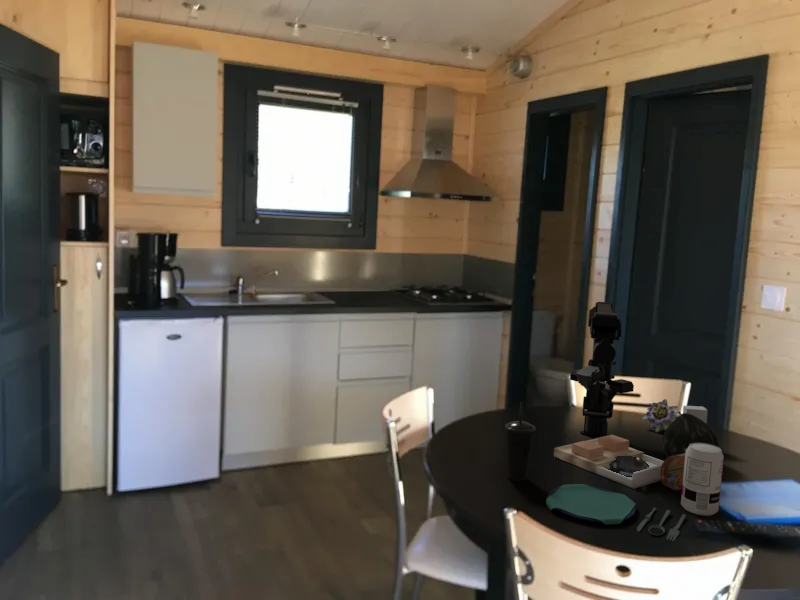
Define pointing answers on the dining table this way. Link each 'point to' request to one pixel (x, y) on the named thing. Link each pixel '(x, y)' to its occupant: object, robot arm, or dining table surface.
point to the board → (592, 463)
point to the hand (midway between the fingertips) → (598, 409)
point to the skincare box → (696, 412)
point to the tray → (636, 474)
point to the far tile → (613, 443)
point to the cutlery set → (601, 506)
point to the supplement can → (702, 479)
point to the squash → (687, 434)
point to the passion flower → (661, 415)
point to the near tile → (587, 449)
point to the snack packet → (673, 471)
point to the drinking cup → (518, 447)
